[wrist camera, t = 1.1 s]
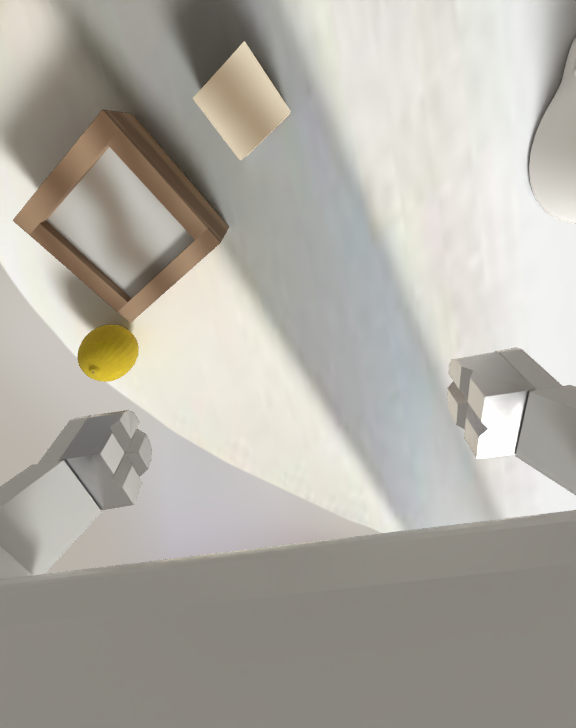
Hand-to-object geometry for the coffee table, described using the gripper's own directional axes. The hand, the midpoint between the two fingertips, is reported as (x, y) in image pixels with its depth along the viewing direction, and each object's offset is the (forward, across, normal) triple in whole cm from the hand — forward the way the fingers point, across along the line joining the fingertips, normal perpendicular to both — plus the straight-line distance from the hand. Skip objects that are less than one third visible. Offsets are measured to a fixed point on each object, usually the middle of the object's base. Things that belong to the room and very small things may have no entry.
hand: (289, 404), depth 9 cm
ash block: (+31, +2, -8) cm, 32 cm away
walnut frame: (+31, +14, -1) cm, 34 cm away
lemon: (+31, +21, +11) cm, 39 cm away
